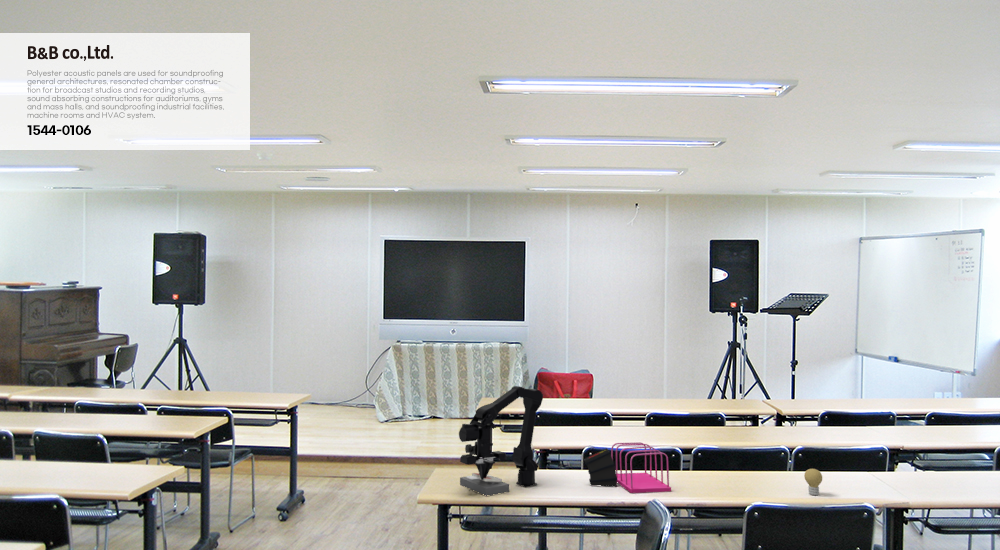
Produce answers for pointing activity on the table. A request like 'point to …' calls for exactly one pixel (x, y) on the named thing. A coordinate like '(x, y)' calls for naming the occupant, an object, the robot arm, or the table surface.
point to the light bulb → (813, 480)
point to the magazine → (601, 469)
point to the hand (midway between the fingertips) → (483, 479)
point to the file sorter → (641, 480)
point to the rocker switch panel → (484, 485)
